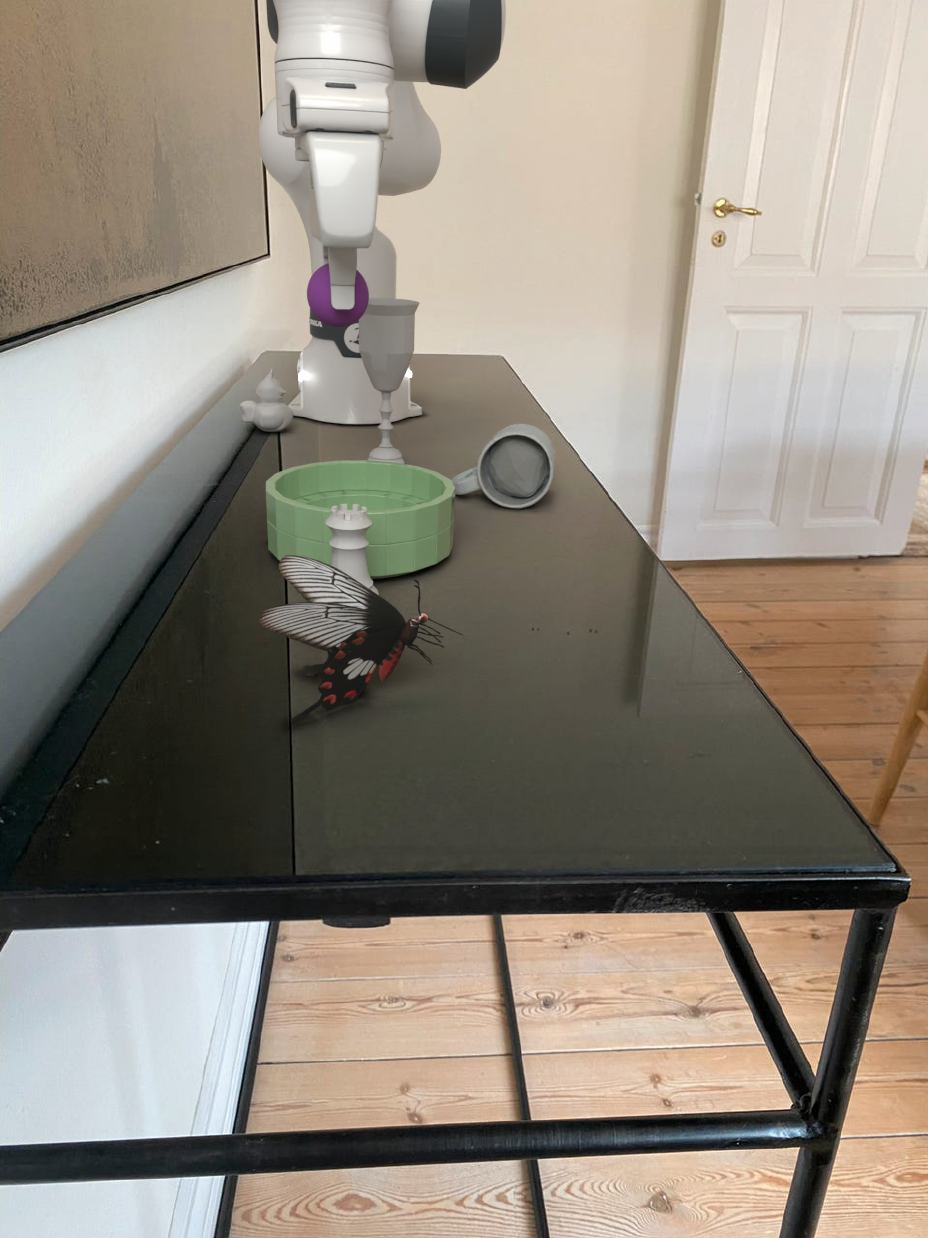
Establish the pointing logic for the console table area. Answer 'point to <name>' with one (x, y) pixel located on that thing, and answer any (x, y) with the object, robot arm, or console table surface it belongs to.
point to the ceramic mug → (512, 467)
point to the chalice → (387, 358)
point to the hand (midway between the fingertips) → (339, 304)
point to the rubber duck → (268, 407)
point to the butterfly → (342, 629)
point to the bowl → (396, 504)
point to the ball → (322, 299)
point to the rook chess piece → (350, 542)
